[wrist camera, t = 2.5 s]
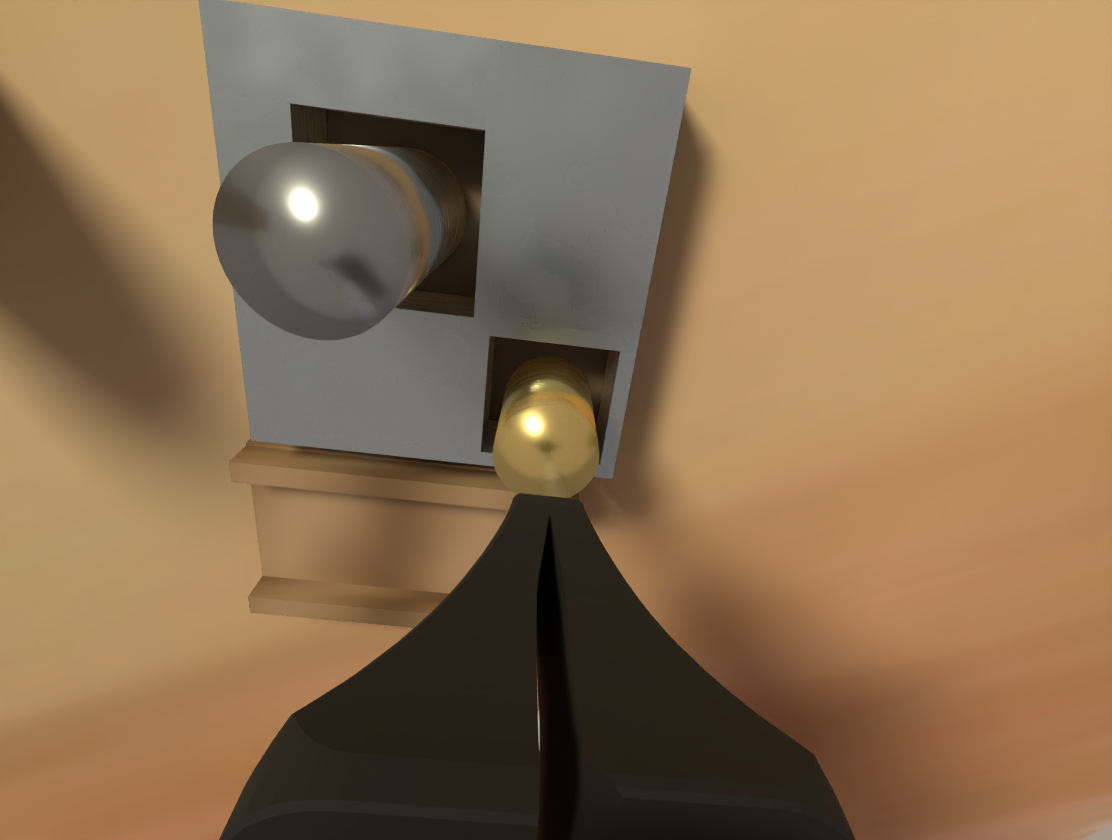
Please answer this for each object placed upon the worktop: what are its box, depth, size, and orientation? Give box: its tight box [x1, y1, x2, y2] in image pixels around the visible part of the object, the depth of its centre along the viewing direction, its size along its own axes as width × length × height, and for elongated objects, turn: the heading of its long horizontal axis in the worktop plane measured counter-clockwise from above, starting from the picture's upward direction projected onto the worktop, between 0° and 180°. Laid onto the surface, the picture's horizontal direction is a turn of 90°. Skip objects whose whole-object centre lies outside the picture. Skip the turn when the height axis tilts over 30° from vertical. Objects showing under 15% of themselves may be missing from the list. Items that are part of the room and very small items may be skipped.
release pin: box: [493, 357, 599, 498], centre depth 17 cm, size 3×3×4 cm
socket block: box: [199, 0, 691, 479], centre depth 17 cm, size 12×12×2 cm
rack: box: [229, 439, 578, 628], centre depth 22 cm, size 12×7×2 cm, turn 83°
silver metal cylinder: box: [213, 142, 467, 340], centre depth 14 cm, size 4×4×8 cm
